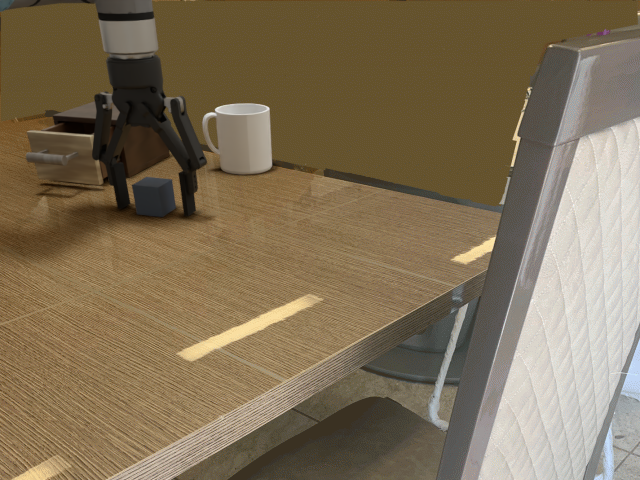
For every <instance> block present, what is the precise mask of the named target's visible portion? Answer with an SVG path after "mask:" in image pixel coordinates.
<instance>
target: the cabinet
mask: <svg viewBox="0 0 640 480" xmlns="http://www.w3.org/2000/svg"><path fill="white" fill-rule="evenodd" d="M96 112H97V110H96V105H95V100H94V101H92V102H89V103H84V104H82V105H80V106H79V105H78V106H77V107H73V108H70V109H68V110H64V111H61V112H58V113H55V114H53V115H52V120H53V126H54V125H57V124H59V123H62V122H65V121H66V122H79V123H93V124H95V121H96ZM119 113H120V112H119V111H118V109H117V108H116V106H115V105H114V107H113V108H112V120H111V125H115V124H116V121H117V118H118V116H119ZM159 123H161V122H160V121H159ZM170 156H171V152H170V151H169V149H168V148H167V146H166V145H165V143H164V142H163V140H162V139H161V137H160V136H159V134H158V133H156V132H154V130H153V129H152V127H150V128H145V127H142V126H136V127H131V129H130V132H129V134H128V137H127V139H126V141H125V144H124V146H123V149H122V151H121V158H122V163H123V165H124V170H125V176H126V178H131V177H133V176H135V175H136V174H138V173H141V172H142V171H144V170H146V169H148V168H149V167H152V166H153V165H156V164H158V163H160V162H162V161H164V160H165V159H167V158H169V157H170Z"/></svg>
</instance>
